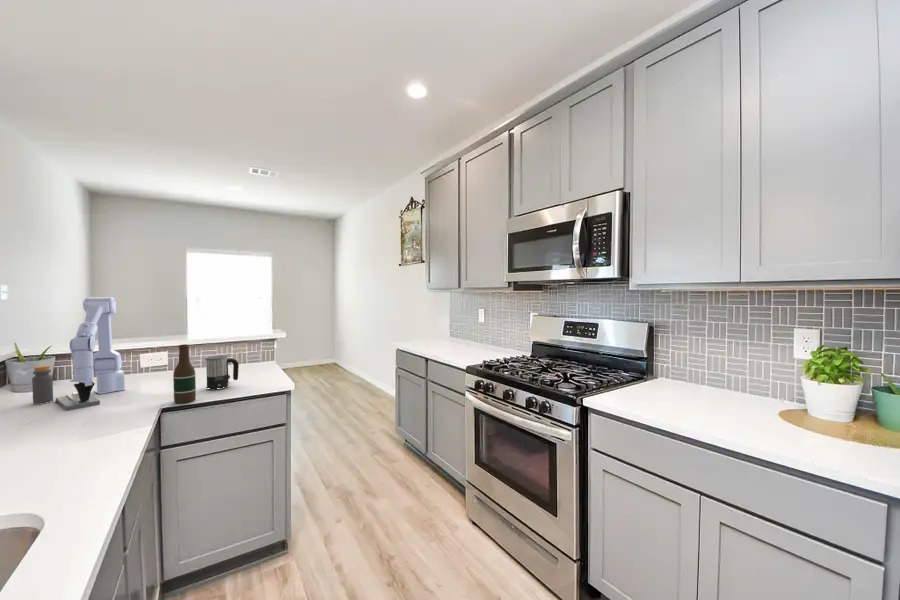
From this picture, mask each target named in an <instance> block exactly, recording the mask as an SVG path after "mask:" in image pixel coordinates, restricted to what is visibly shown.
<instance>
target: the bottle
mask: <svg viewBox="0 0 900 600" xmlns="http://www.w3.org/2000/svg"><path fill="white" fill-rule="evenodd" d="M50 367H51V365H50V364H47V365H44V364H43V365H36V366H34V367H33V369H34V371H33V372H32V374H33V375H35V376H33V377H32V378H31V379H32V380H31V385H32V387H31V389H32V403H34V404H33V405H39V404H38V403H43V404H47V403H46V402H48V403H51V402H50V401H52V402H53V401H54V386H53V385H54V383H53V375H52V374H50V373H51V372H52V369H50Z"/></svg>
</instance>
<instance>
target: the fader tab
mask: <svg viewBox="0 0 900 600" xmlns="http://www.w3.org/2000/svg"><path fill="white" fill-rule="evenodd" d="M71 393H72V394H71V395H72V398H73V400H74V401H80V402H81V400H80V398H79V394H78V392H77V391H73V392H71ZM89 399H90V397H89Z"/></svg>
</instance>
